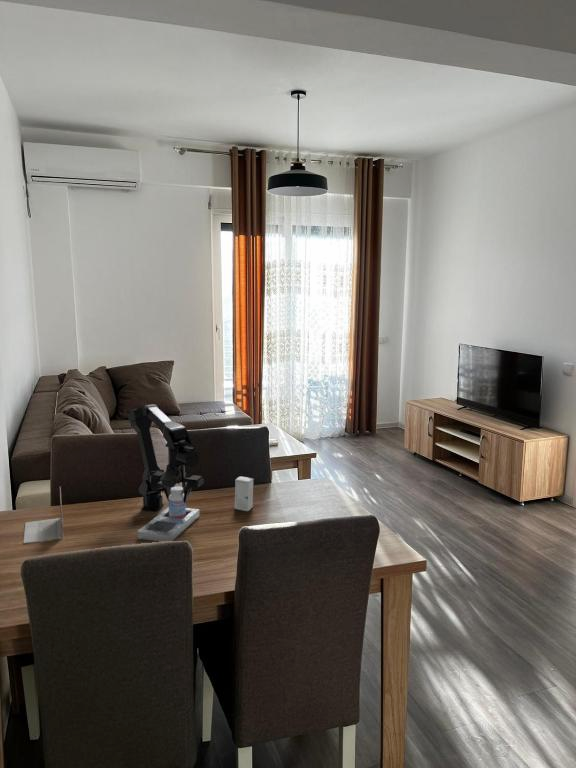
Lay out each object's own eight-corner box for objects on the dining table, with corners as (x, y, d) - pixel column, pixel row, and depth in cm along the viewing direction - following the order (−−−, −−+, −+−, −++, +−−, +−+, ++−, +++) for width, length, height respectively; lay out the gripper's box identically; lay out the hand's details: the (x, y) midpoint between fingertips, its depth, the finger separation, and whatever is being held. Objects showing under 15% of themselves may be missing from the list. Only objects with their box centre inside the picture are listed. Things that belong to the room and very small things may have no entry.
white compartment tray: (137, 539, 198) (137, 531, 197) (170, 513, 221) (169, 505, 220) (170, 544, 195) (169, 535, 194) (199, 517, 217) (199, 509, 217)
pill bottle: (171, 522, 209) (171, 492, 207) (166, 516, 214) (166, 487, 212) (187, 519, 212) (187, 490, 210) (182, 513, 217) (182, 484, 215)
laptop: (25, 524, 209) (23, 489, 207) (62, 519, 214) (60, 485, 212) (23, 545, 193) (20, 507, 191) (63, 539, 198) (61, 503, 195)
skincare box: (234, 509, 226) (234, 479, 223) (239, 505, 230) (239, 475, 228) (248, 511, 223) (248, 481, 221) (253, 507, 227) (253, 478, 225)
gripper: (141, 464, 204) (142, 506, 207) (190, 470, 199) (191, 513, 202) (157, 455, 215) (157, 496, 217) (203, 460, 210) (204, 501, 213)
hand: (177, 501), depth 212 cm, fingers closed on pill bottle, 6 cm apart
